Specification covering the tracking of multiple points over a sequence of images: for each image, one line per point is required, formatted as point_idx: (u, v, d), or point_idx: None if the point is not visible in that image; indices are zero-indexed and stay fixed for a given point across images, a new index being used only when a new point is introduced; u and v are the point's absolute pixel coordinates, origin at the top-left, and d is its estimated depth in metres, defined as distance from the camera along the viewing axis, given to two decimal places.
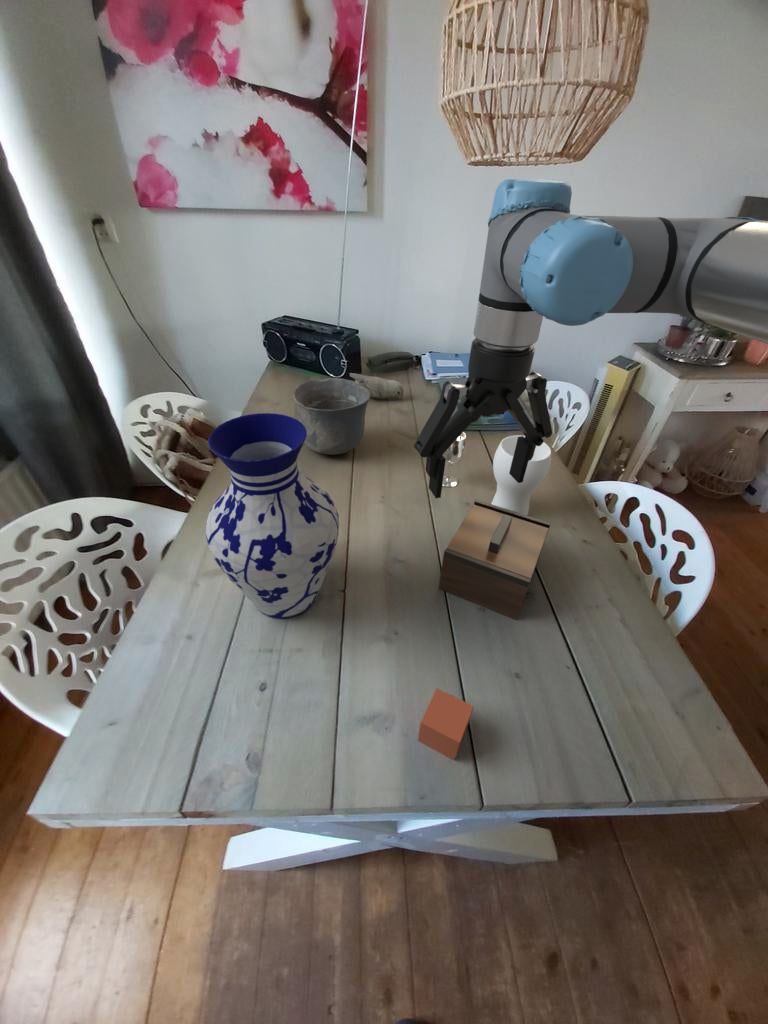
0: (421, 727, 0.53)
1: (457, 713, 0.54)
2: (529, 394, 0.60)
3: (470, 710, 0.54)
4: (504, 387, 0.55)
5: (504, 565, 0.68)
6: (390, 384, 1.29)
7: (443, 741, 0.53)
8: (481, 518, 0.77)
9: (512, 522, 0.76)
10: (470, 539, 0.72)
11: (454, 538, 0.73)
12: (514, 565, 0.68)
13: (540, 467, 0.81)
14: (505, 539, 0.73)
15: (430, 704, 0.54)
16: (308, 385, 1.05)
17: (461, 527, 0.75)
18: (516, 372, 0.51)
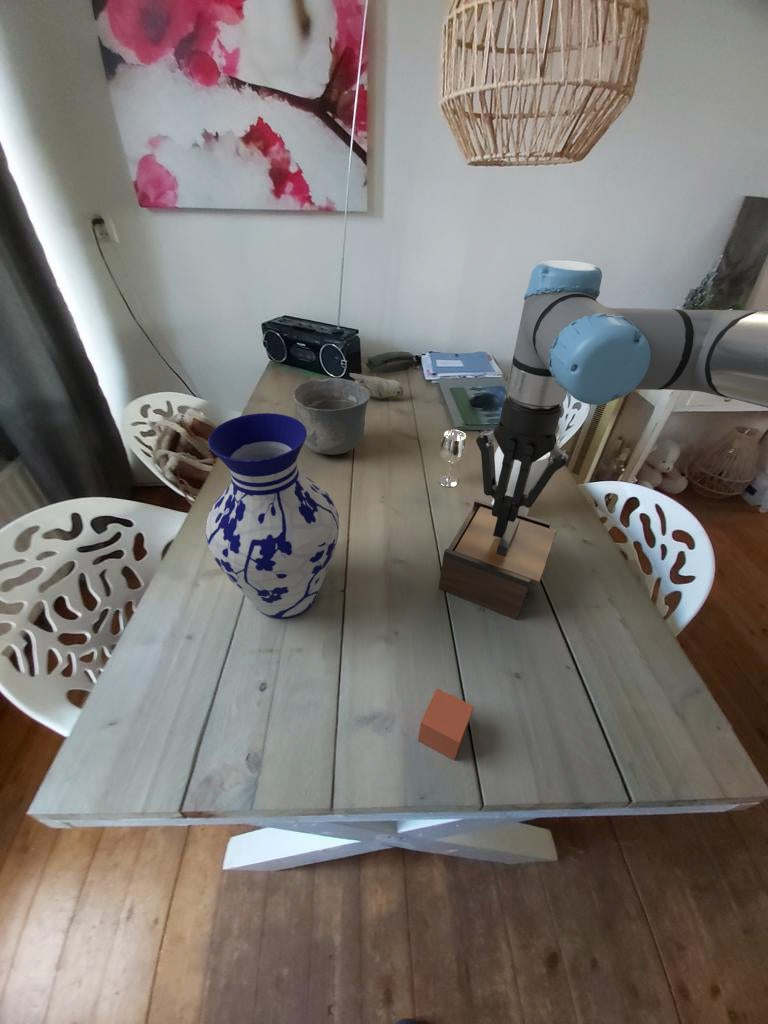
0: (421, 727, 0.53)
1: (457, 713, 0.54)
2: (548, 463, 0.62)
3: (470, 710, 0.54)
4: None
5: (512, 568, 0.68)
6: (390, 384, 1.29)
7: (443, 741, 0.53)
8: (488, 520, 0.76)
9: (519, 524, 0.76)
10: (478, 542, 0.72)
11: (461, 541, 0.72)
12: (523, 568, 0.68)
13: (540, 467, 0.81)
14: (513, 542, 0.72)
15: (430, 704, 0.54)
16: (308, 385, 1.05)
17: (468, 530, 0.74)
18: (523, 426, 0.56)
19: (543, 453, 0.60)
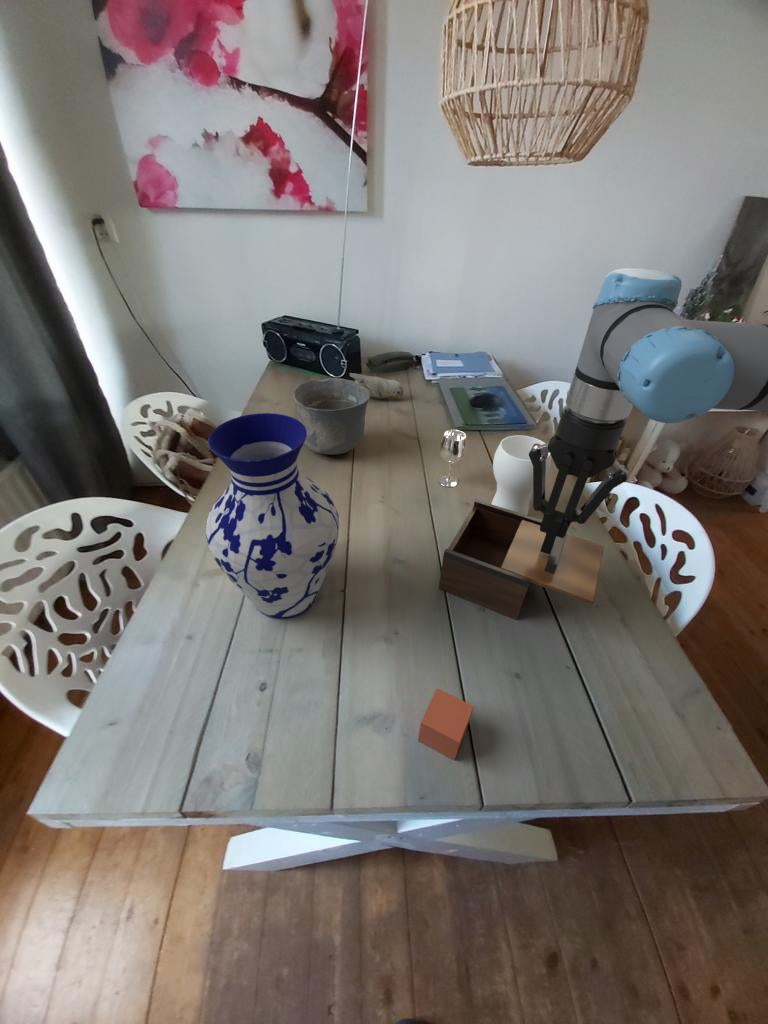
0: (421, 727, 0.53)
1: (457, 713, 0.54)
2: (605, 478, 0.60)
3: (470, 710, 0.54)
4: None
5: (563, 587, 0.65)
6: (390, 384, 1.29)
7: (443, 741, 0.53)
8: (532, 535, 0.74)
9: (565, 539, 0.73)
10: (524, 558, 0.69)
11: (507, 557, 0.69)
12: (574, 586, 0.65)
13: None
14: (560, 558, 0.70)
15: (430, 704, 0.54)
16: (308, 385, 1.05)
17: (513, 545, 0.72)
18: (585, 441, 0.54)
19: (602, 468, 0.57)
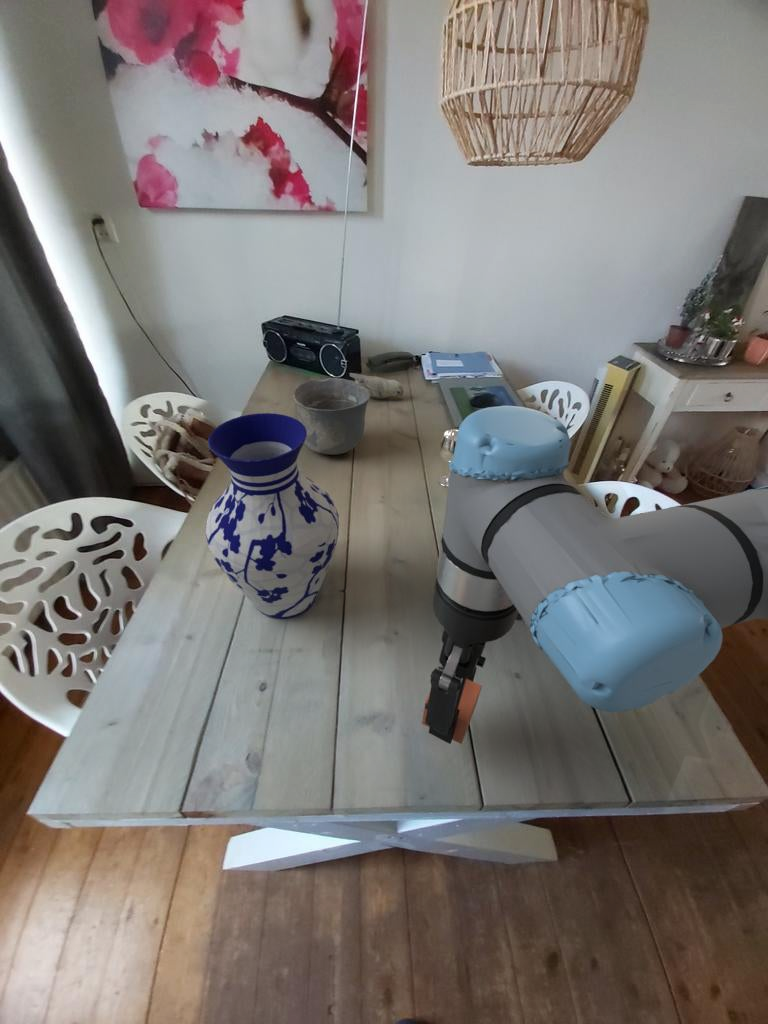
0: None
1: (464, 693, 0.50)
2: None
3: (478, 690, 0.50)
4: None
5: None
6: (390, 384, 1.29)
7: None
8: None
9: None
10: None
11: None
12: None
13: None
14: None
15: None
16: (308, 385, 1.05)
17: None
18: None
19: None
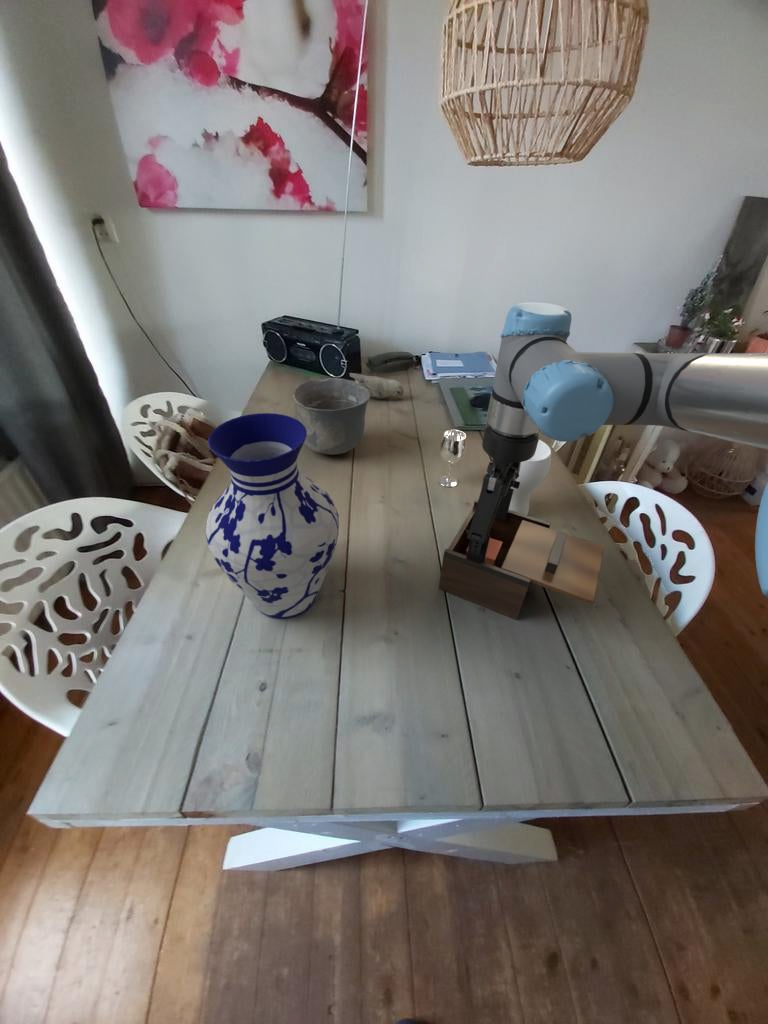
0: (466, 555, 0.75)
1: (491, 545, 0.76)
2: None
3: (500, 544, 0.76)
4: None
5: (563, 587, 0.65)
6: (390, 384, 1.29)
7: None
8: (532, 535, 0.74)
9: (565, 539, 0.73)
10: (524, 558, 0.69)
11: (507, 557, 0.69)
12: (574, 586, 0.65)
13: (540, 467, 0.81)
14: (561, 558, 0.70)
15: None
16: (308, 385, 1.05)
17: (513, 545, 0.72)
18: None
19: None
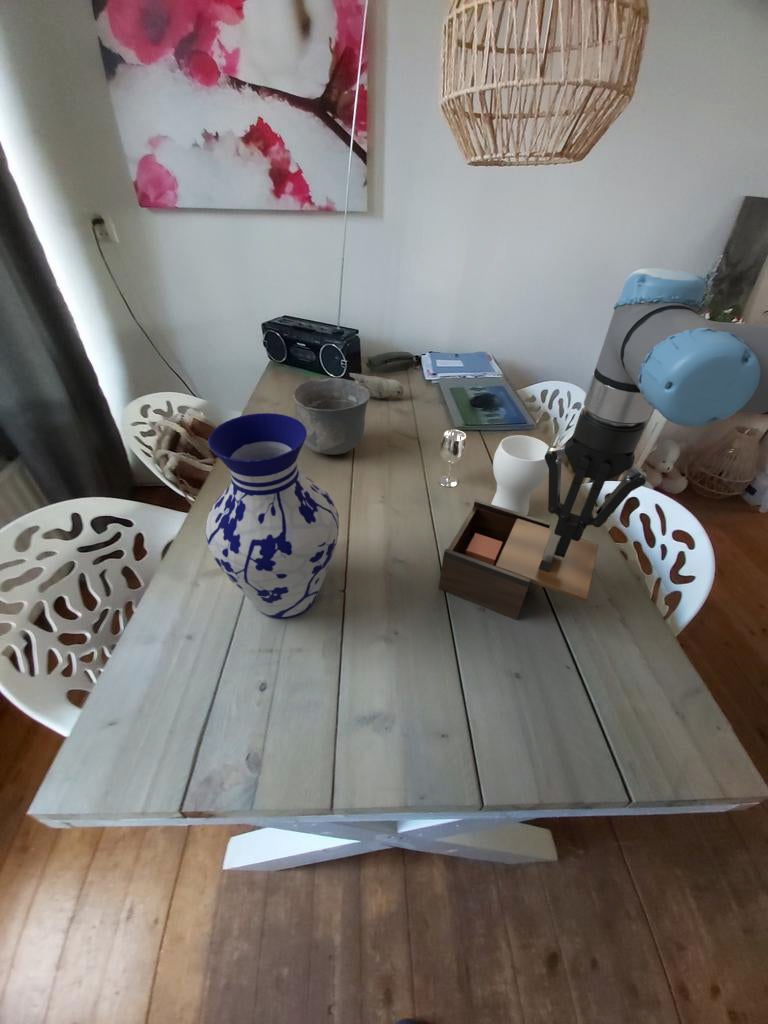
0: (466, 555, 0.75)
1: (491, 545, 0.76)
2: (622, 481, 0.59)
3: (500, 544, 0.76)
4: None
5: (557, 585, 0.65)
6: (390, 383, 1.29)
7: None
8: (527, 533, 0.74)
9: None
10: (518, 556, 0.70)
11: (502, 555, 0.70)
12: (568, 584, 0.65)
13: (540, 467, 0.81)
14: (555, 556, 0.70)
15: (472, 541, 0.76)
16: (308, 385, 1.05)
17: (507, 543, 0.72)
18: (604, 444, 0.53)
19: (620, 471, 0.56)
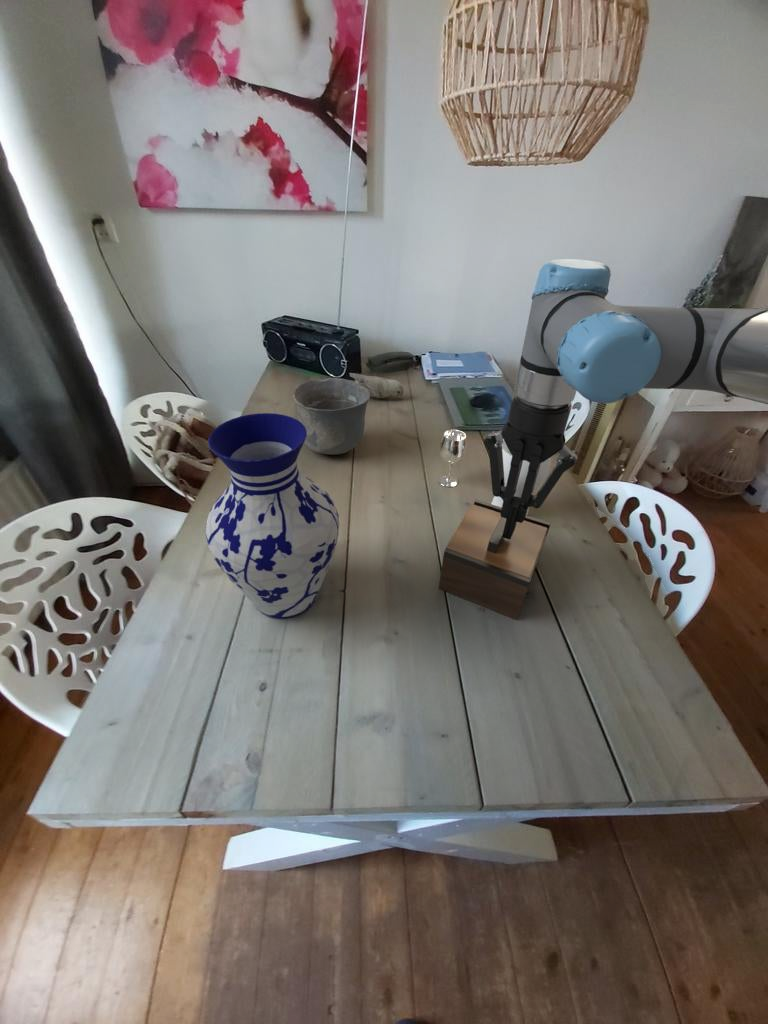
0: None
1: None
2: (557, 463, 0.62)
3: None
4: None
5: (502, 565, 0.68)
6: (390, 383, 1.29)
7: None
8: (480, 518, 0.77)
9: None
10: (469, 539, 0.73)
11: (453, 538, 0.73)
12: (513, 564, 0.68)
13: (540, 467, 0.81)
14: (504, 539, 0.73)
15: None
16: (308, 385, 1.05)
17: (460, 527, 0.75)
18: (531, 426, 0.56)
19: (552, 453, 0.59)
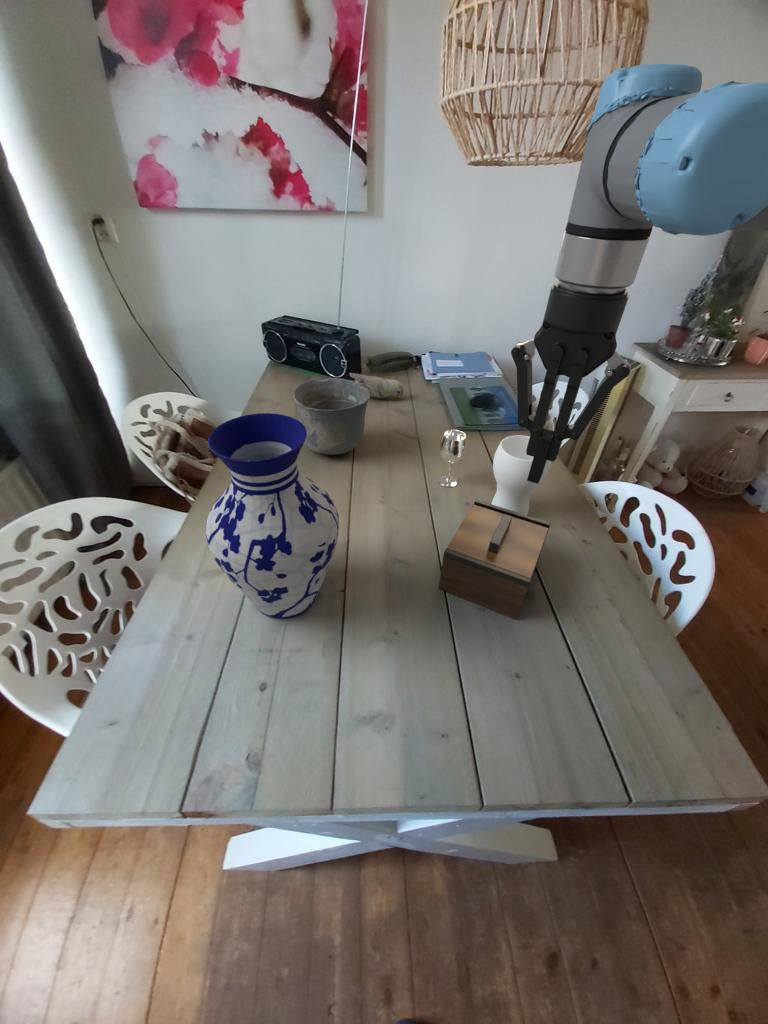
0: None
1: None
2: (603, 379, 0.49)
3: None
4: None
5: (503, 565, 0.68)
6: (390, 383, 1.29)
7: None
8: (480, 518, 0.77)
9: (512, 522, 0.76)
10: (470, 539, 0.72)
11: (454, 538, 0.73)
12: (514, 565, 0.68)
13: None
14: (505, 539, 0.73)
15: None
16: (308, 385, 1.05)
17: (461, 527, 0.75)
18: (578, 319, 0.43)
19: (599, 362, 0.47)
